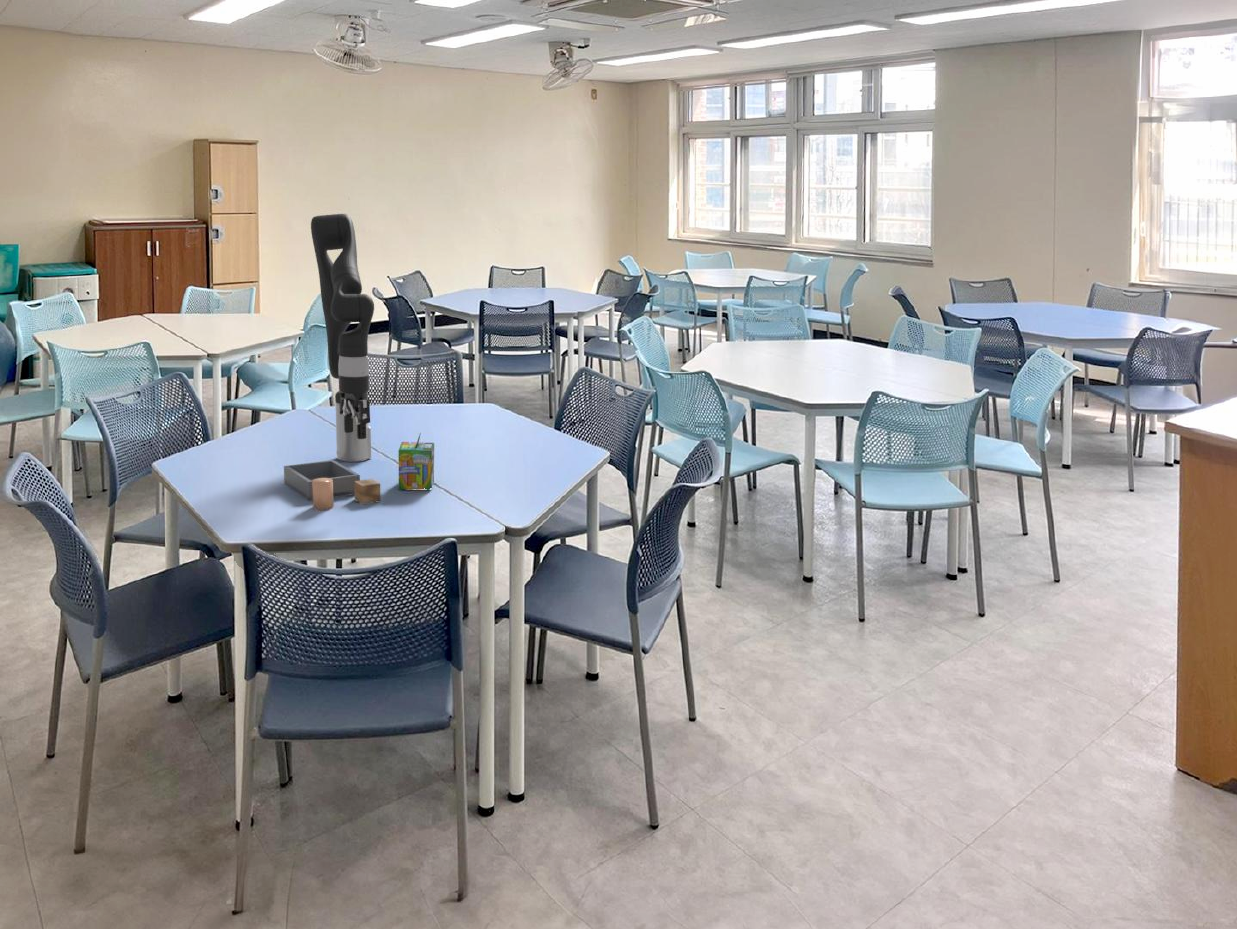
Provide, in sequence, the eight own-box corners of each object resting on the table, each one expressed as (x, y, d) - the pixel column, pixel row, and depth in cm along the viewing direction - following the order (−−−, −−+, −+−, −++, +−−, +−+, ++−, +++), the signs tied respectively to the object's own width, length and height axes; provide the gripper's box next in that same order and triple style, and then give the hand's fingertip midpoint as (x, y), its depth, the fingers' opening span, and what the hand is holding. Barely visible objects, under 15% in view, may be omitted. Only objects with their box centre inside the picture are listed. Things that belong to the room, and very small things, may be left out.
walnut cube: (372, 497, 282) (372, 478, 280) (380, 501, 278) (380, 483, 276) (354, 499, 279) (354, 481, 277) (362, 504, 275) (362, 485, 274)
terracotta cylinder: (329, 503, 274) (328, 476, 273) (336, 508, 271) (335, 481, 269) (310, 505, 272) (309, 479, 270) (317, 511, 268) (316, 484, 266)
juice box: (401, 481, 297) (400, 429, 293) (434, 482, 298) (434, 430, 294) (397, 490, 288) (396, 437, 284) (431, 491, 289) (431, 438, 285)
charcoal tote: (333, 477, 298) (333, 460, 297) (360, 493, 284) (359, 475, 283) (284, 483, 290) (283, 466, 288) (309, 500, 276) (308, 481, 275)
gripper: (379, 376, 267) (380, 439, 271) (356, 368, 278) (358, 429, 282) (350, 378, 262) (351, 442, 266) (329, 369, 274) (330, 431, 277)
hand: (355, 435), depth 274 cm, fingers open, 8 cm apart
